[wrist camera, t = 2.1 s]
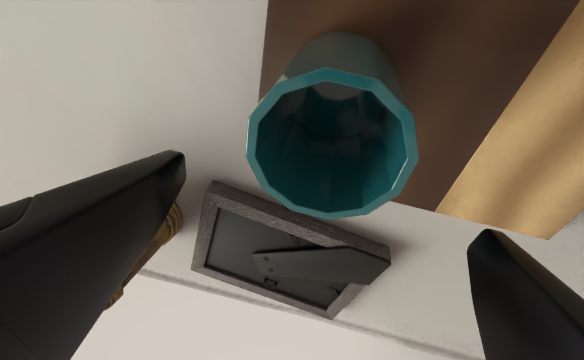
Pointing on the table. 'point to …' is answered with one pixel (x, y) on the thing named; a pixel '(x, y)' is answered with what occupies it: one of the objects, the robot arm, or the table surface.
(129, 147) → the table surface
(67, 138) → the table surface
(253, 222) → the picture frame
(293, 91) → the teal cup
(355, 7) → the serving board
